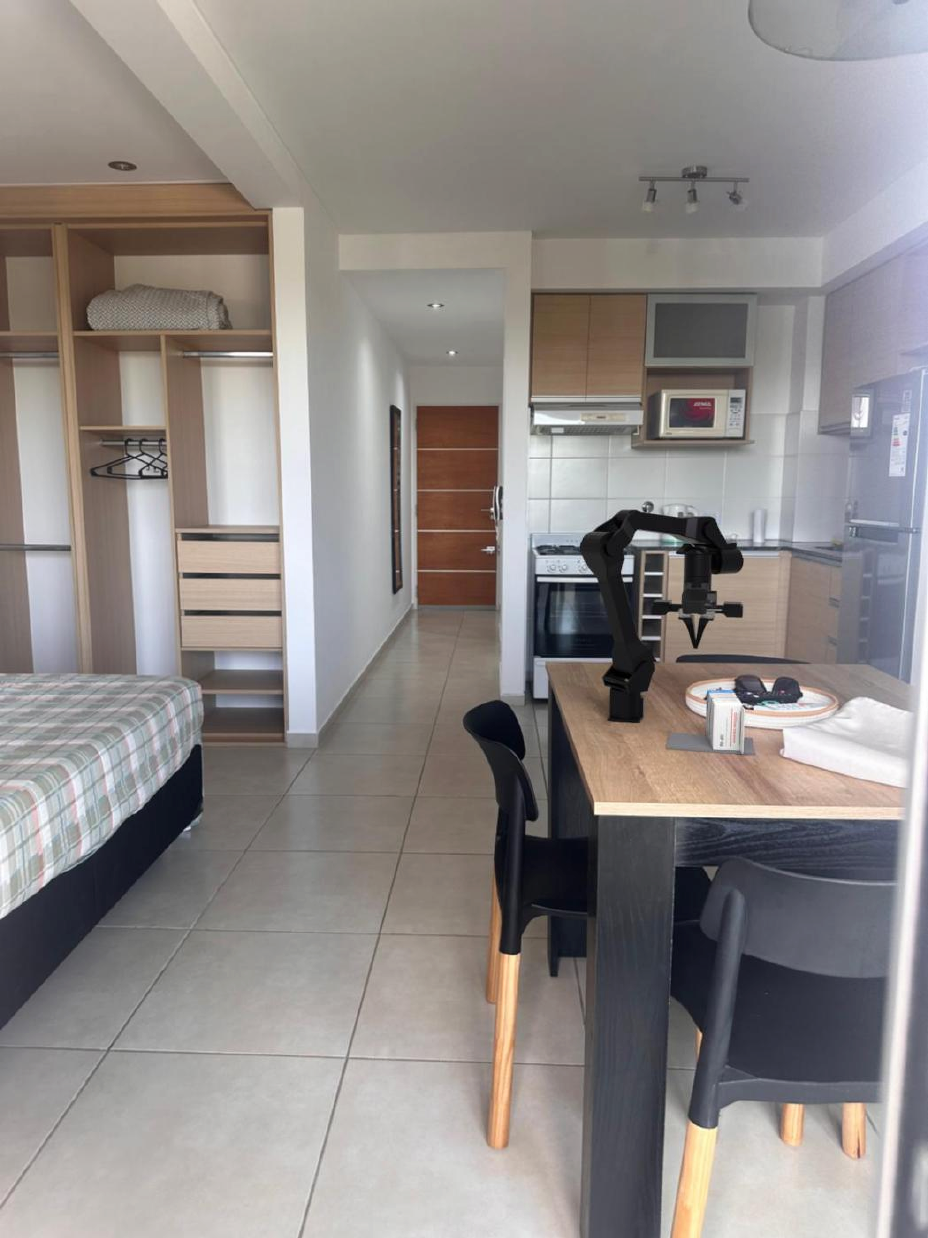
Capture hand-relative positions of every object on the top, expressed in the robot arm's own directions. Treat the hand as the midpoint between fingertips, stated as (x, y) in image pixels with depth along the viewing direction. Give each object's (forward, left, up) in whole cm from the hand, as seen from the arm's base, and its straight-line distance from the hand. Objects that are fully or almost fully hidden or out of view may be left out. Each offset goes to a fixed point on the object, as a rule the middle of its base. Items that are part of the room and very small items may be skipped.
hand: (695, 648), depth 178 cm
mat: (+4, -28, -13) cm, 31 cm away
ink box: (+5, -21, -8) cm, 23 cm away
